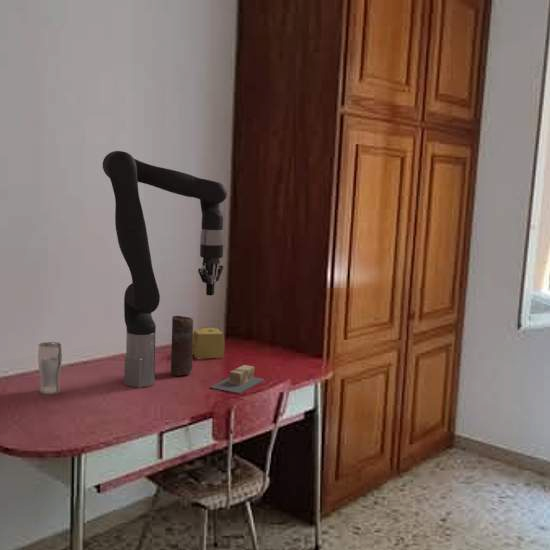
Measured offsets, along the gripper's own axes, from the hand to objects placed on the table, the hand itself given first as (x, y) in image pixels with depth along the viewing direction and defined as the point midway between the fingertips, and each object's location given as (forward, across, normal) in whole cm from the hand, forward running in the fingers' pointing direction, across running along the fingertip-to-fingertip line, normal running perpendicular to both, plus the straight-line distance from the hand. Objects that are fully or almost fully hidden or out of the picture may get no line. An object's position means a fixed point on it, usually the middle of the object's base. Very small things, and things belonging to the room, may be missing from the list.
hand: (210, 294), depth 237 cm
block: (+27, -1, -11) cm, 29 cm away
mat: (+29, +1, -11) cm, 31 cm away
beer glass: (+29, -38, +34) cm, 59 cm away
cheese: (+29, +27, +16) cm, 43 cm away
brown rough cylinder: (+29, +1, +11) cm, 31 cm away
